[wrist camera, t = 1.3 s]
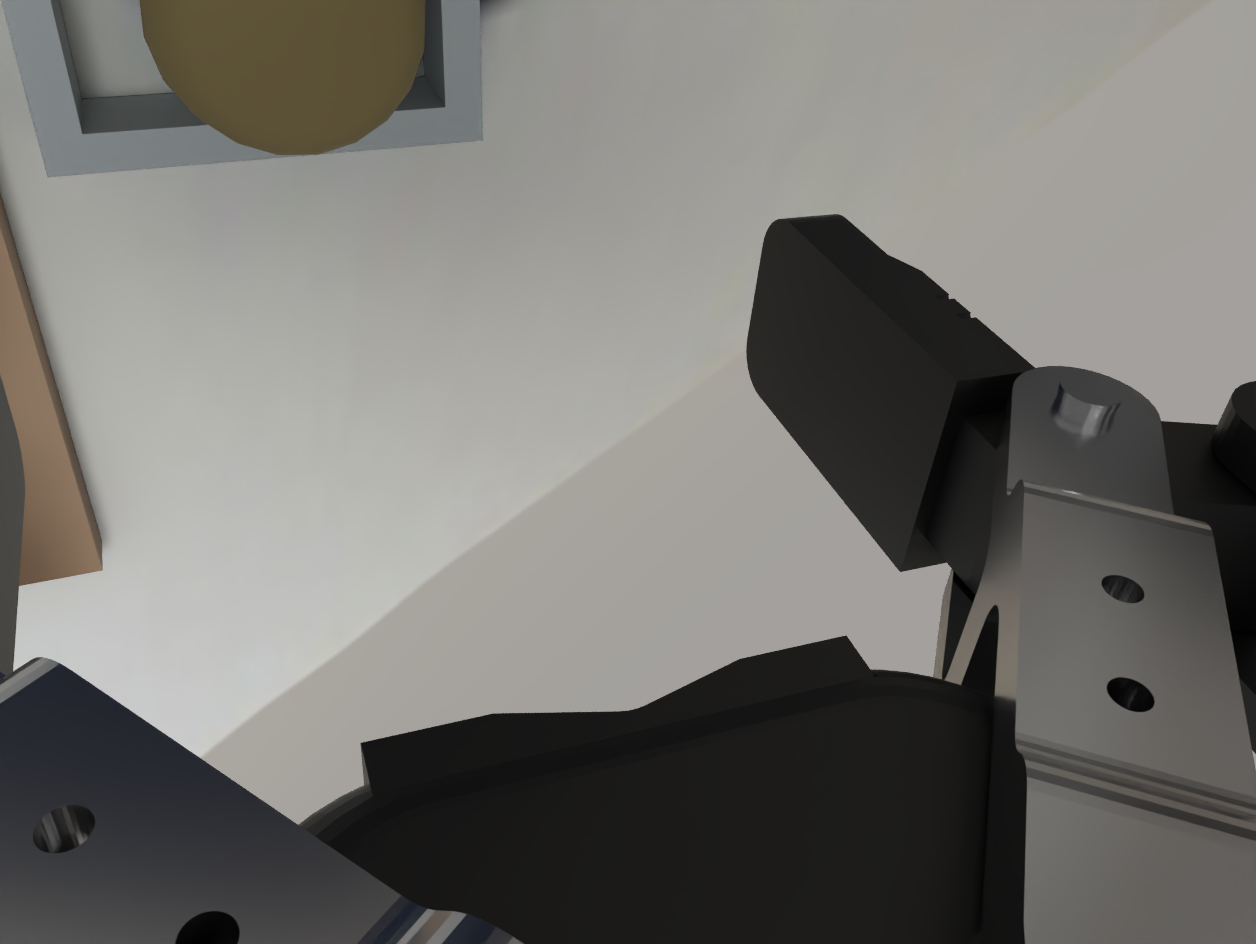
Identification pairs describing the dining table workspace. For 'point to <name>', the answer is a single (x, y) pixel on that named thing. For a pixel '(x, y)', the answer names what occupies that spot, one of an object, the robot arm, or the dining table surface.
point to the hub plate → (42, 439)
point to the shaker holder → (176, 137)
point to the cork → (288, 66)
